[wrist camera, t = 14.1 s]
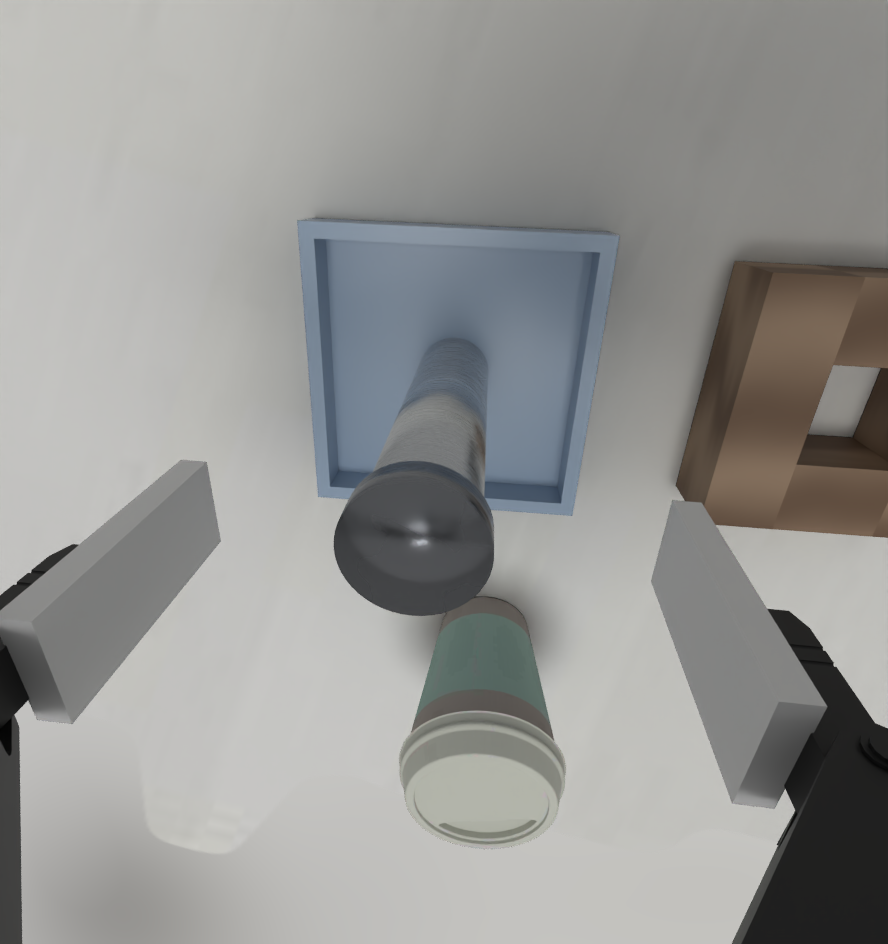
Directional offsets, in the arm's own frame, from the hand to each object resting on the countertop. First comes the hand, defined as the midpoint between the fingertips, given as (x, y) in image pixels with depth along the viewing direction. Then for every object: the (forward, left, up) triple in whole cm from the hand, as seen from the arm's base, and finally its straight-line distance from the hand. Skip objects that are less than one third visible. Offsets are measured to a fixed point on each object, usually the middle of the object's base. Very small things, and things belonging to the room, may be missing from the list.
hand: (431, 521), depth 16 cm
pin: (0, 0, -15) cm, 15 cm away
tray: (0, 0, -15) cm, 15 cm away
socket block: (0, +19, -15) cm, 24 cm away
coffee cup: (+18, +3, -15) cm, 24 cm away
